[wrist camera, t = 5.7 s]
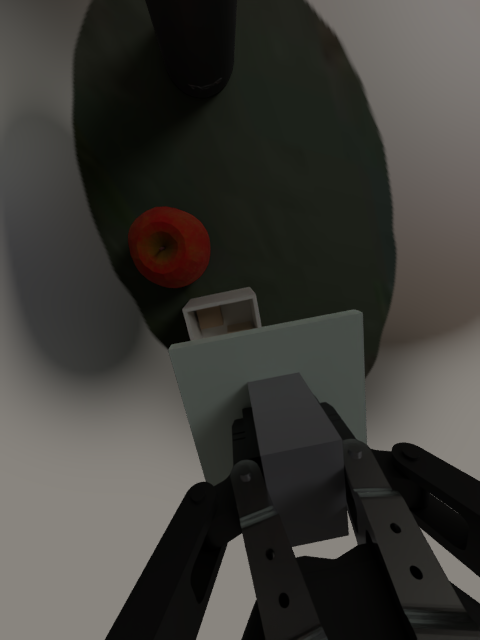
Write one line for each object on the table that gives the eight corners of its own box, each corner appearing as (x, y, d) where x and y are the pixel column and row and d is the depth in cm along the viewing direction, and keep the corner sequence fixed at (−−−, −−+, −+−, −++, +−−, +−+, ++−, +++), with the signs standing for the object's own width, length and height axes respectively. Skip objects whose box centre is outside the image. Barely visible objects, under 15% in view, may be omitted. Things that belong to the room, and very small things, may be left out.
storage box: (190, 298, 38) (182, 309, 31) (249, 286, 39) (255, 294, 31) (204, 353, 41) (200, 375, 33) (259, 341, 41) (267, 361, 33)
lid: (176, 335, 14) (131, 410, 7) (341, 304, 15) (450, 348, 8) (212, 466, 17) (203, 608, 10) (349, 438, 18) (432, 560, 11)
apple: (127, 242, 36) (88, 236, 25) (181, 196, 34) (163, 170, 24) (174, 297, 38) (156, 311, 28) (226, 256, 37) (227, 255, 27)
